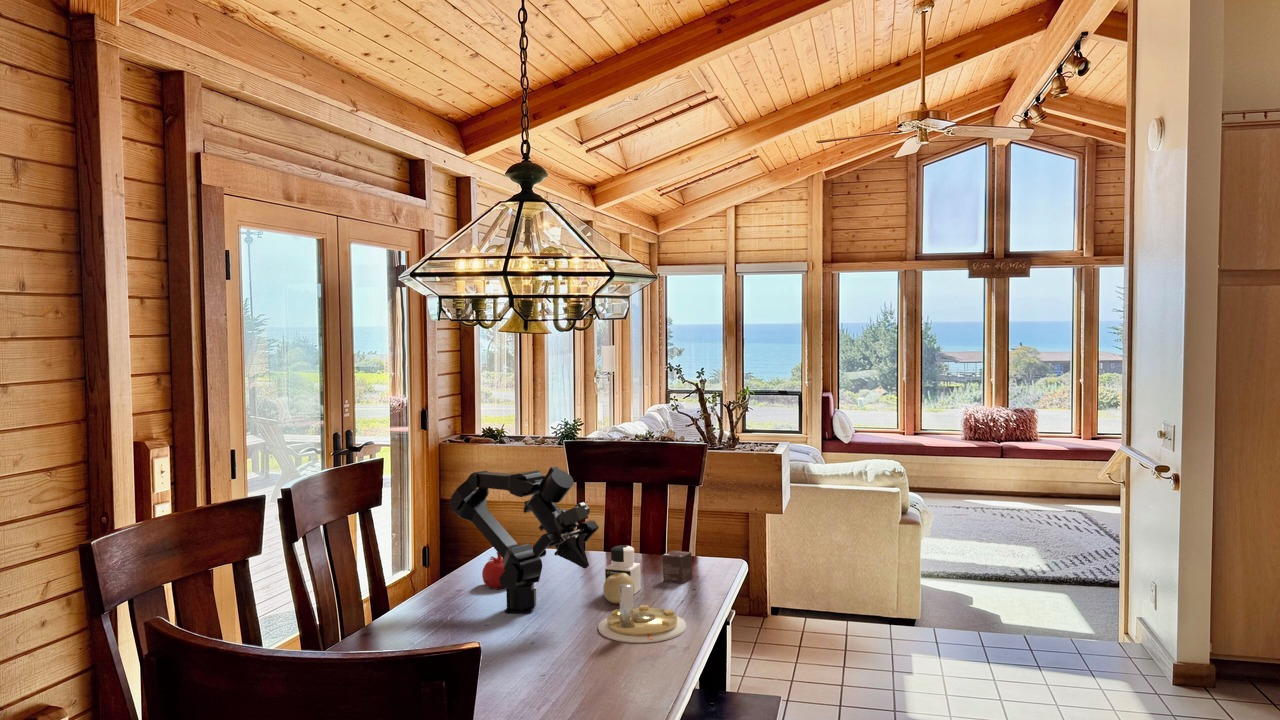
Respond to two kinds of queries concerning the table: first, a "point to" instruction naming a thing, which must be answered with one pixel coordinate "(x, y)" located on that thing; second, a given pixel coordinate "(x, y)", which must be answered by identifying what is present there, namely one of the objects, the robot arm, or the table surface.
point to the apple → (616, 586)
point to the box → (677, 566)
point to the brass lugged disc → (639, 617)
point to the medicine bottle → (624, 564)
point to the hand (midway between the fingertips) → (586, 567)
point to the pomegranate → (493, 572)
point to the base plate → (642, 639)
